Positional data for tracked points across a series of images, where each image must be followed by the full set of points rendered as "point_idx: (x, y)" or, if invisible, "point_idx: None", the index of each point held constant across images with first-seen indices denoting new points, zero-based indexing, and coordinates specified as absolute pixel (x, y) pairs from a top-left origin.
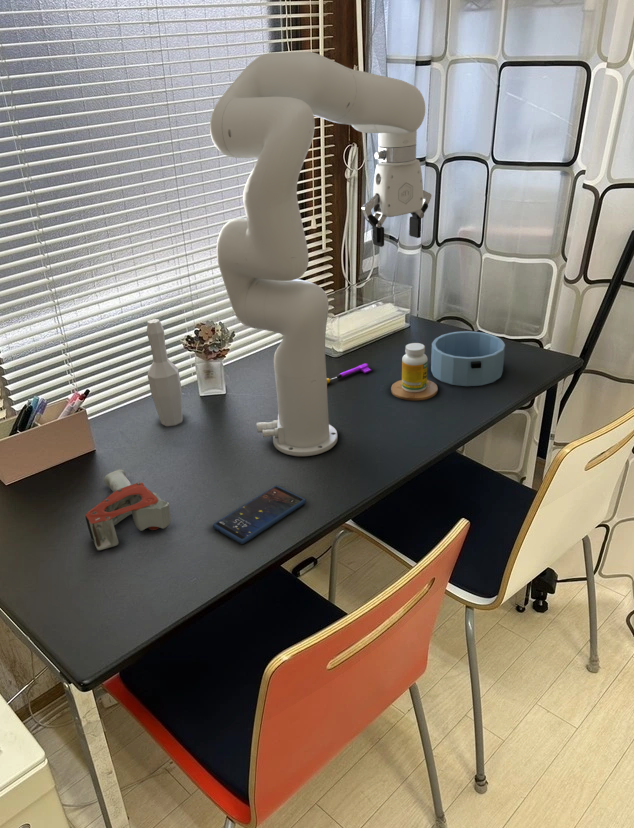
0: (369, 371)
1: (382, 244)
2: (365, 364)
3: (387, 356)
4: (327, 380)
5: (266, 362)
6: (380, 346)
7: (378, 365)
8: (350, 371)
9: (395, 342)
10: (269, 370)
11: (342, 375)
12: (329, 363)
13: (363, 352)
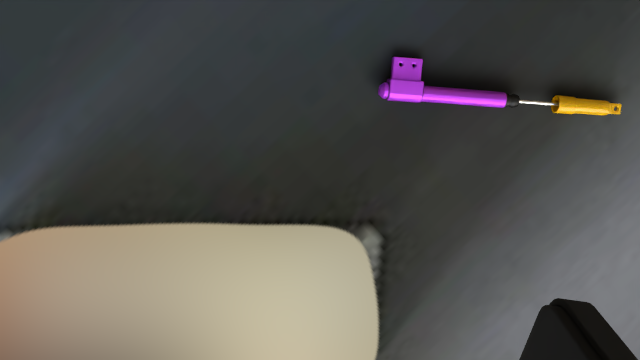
0: (400, 57)
1: (590, 310)
2: (395, 88)
3: (251, 104)
4: (569, 99)
5: None
6: (202, 185)
7: (334, 73)
8: (466, 91)
9: (135, 170)
10: None
11: (503, 93)
12: (426, 210)
13: (283, 192)
